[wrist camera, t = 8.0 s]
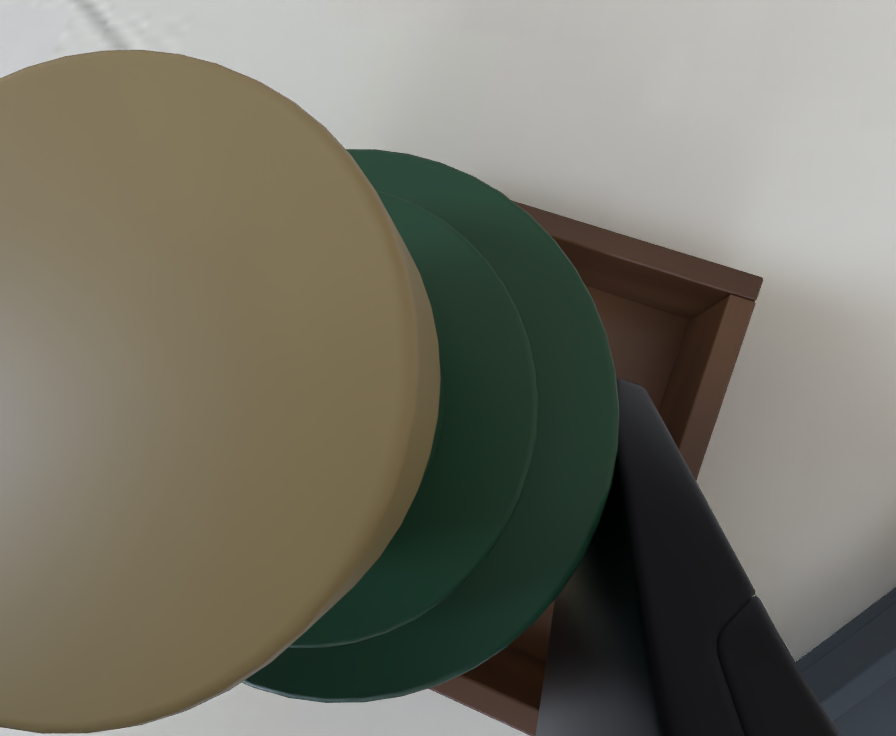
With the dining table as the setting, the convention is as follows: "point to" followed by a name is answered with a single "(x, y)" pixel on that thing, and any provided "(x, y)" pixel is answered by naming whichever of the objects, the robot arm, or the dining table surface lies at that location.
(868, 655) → the tray
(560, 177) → the dining table surface
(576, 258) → the crate
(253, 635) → the bottle
